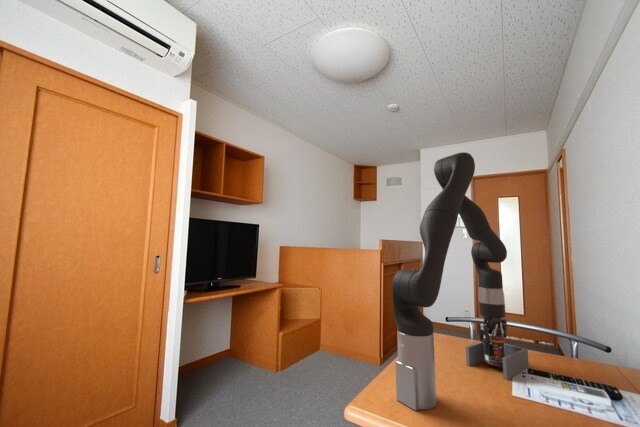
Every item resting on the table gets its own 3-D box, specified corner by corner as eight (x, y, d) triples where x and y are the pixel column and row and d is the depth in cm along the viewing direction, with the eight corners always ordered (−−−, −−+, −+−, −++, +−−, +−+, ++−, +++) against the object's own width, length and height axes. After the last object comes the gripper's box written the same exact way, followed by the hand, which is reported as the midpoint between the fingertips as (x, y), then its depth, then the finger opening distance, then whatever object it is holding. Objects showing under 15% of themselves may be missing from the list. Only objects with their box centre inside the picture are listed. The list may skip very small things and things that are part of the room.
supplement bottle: (487, 365, 92) (485, 329, 93) (482, 359, 97) (480, 324, 99) (508, 368, 90) (506, 331, 91) (502, 361, 96) (500, 326, 97)
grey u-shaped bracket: (507, 380, 85) (505, 358, 86) (466, 365, 96) (465, 346, 96) (529, 368, 93) (527, 349, 94) (489, 356, 103) (488, 338, 104)
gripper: (492, 305, 89) (495, 362, 87) (513, 301, 97) (517, 353, 95) (468, 301, 95) (471, 354, 93) (490, 297, 103) (493, 346, 101)
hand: (494, 353), depth 94 cm, fingers closed on supplement bottle, 6 cm apart
